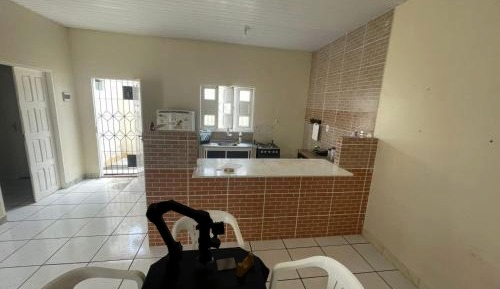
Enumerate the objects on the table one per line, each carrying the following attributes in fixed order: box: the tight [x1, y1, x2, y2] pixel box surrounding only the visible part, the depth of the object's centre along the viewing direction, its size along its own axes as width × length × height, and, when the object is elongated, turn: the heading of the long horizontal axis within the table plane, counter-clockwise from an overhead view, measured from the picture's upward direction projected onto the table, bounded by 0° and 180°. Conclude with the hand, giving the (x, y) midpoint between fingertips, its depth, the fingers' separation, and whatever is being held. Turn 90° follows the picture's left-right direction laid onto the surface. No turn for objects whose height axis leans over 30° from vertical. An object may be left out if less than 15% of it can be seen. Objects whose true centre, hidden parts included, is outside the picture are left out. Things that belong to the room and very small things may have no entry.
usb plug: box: [195, 255, 215, 269], centre depth 115 cm, size 9×4×4 cm, turn 105°
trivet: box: [215, 257, 237, 272], centre depth 119 cm, size 10×8×1 cm
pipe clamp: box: [236, 252, 255, 278], centre depth 116 cm, size 12×4×6 cm, turn 145°
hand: (204, 262), depth 115 cm, fingers closed on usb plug, 4 cm apart
